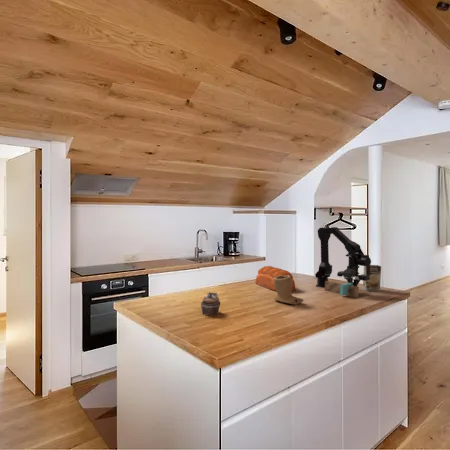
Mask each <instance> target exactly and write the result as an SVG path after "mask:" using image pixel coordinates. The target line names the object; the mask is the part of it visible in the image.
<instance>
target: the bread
mask: <svg viewBox="0 0 450 450" xmlns="http://www.w3.org/2000/svg"><path fill="white" fill-rule="evenodd" d="M281 275H284V276H287V275H289V276H290V277H291V278H292V292H294V291H296V283H295V280H294V276H293V275H292V273H291V272H289V271H288V270H285V269H282V268H279V267H275V266H271V265H266V266H265V265H264V266H263V267H261V268H260V269H258V271H257V275H256V278H255V284H256V285H259V286H261V287H263V288H266V289H269V290H271V291H273V292H277V291H276V288H275V285H274V278H275V277H277V276H281Z"/></svg>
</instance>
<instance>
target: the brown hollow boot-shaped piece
mask: <svg viewBox="0 0 450 450" xmlns="http://www.w3.org/2000/svg"><path fill="white" fill-rule="evenodd" d="M274 285H275V288H276V291H275V292H276V294H277V295H276V296H275V297H274V298H273V300H275V301H278V302H281V303H285V304H289V305H295V306H296V305H299V304H301V303H303V302H304V299H303V298H301V297H298V296H297V297H296V296H293V293H292V292H293V291H292V278H291V277H290V276H289V275H287V276H284V275H281V276H277V277H275V278H274Z"/></svg>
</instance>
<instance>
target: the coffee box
mask: <svg viewBox="0 0 450 450" xmlns="http://www.w3.org/2000/svg"><path fill="white" fill-rule="evenodd" d="M363 274H365V275H369V277H370V280H366V281H363V280H362V289H363V290H364V291H365V292H381V283H382V282H381V275H382V266H381V265H379V264H370V266H369V267H367V266H363Z"/></svg>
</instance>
